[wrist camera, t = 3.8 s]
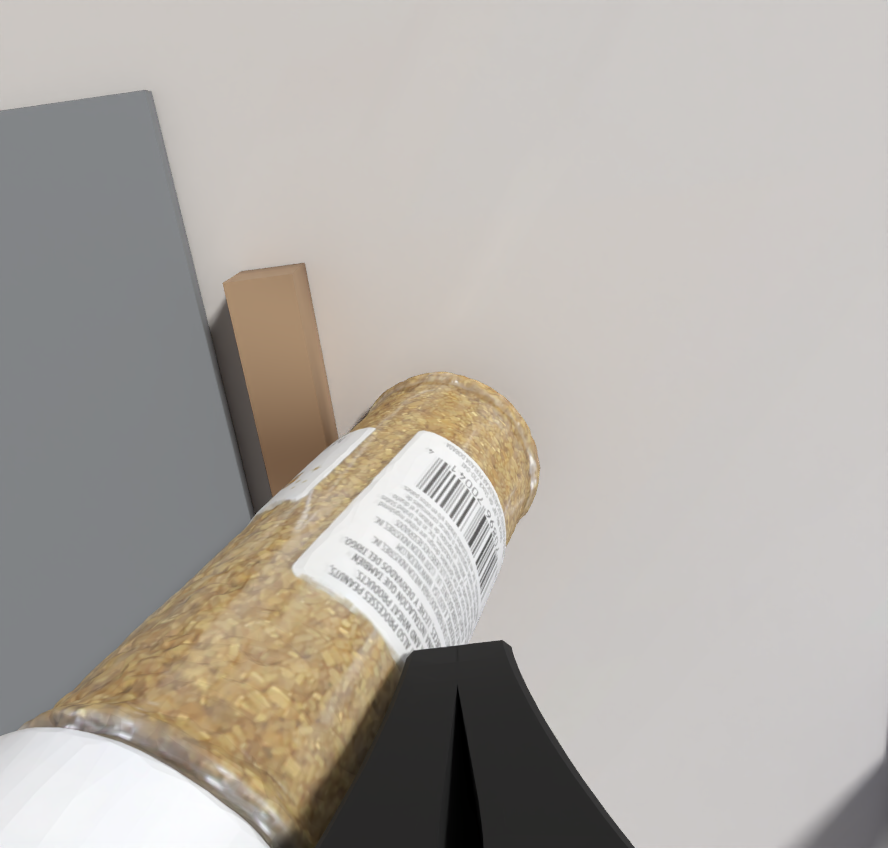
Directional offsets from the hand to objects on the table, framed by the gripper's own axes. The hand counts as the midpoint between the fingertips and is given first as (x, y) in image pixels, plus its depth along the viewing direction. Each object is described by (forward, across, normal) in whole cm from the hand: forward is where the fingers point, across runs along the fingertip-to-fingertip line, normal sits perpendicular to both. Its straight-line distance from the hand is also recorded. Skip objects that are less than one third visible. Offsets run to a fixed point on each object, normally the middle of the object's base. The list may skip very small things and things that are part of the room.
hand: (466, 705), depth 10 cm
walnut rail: (+9, +4, 0) cm, 10 cm away
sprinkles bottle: (+9, 0, 0) cm, 9 cm away
